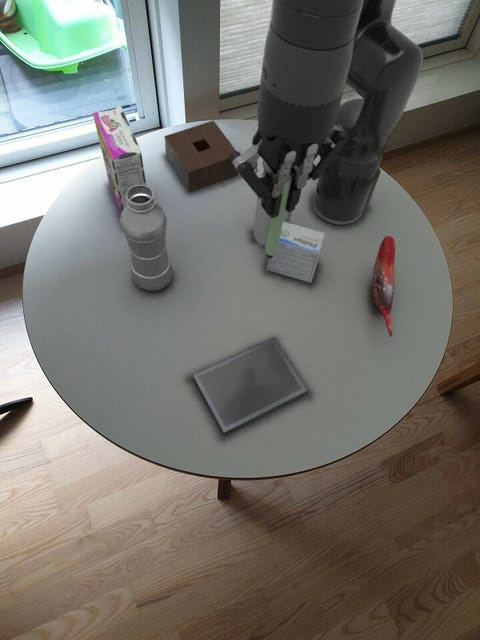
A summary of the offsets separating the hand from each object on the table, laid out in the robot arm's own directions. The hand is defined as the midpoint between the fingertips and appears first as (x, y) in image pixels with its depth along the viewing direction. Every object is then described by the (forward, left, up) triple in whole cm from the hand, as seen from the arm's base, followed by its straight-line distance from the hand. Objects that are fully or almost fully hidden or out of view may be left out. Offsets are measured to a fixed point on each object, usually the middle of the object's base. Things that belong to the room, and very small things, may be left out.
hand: (279, 209), depth 63 cm
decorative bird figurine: (-19, +6, -28) cm, 34 cm away
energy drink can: (-11, -15, -28) cm, 33 cm away
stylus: (0, 0, -9) cm, 9 cm away
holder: (-8, -36, -27) cm, 46 cm away
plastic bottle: (+11, -16, -28) cm, 34 cm away
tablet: (+6, +8, -27) cm, 29 cm away
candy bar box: (+8, -33, -28) cm, 44 cm away
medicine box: (-11, -8, -28) cm, 31 cm away
